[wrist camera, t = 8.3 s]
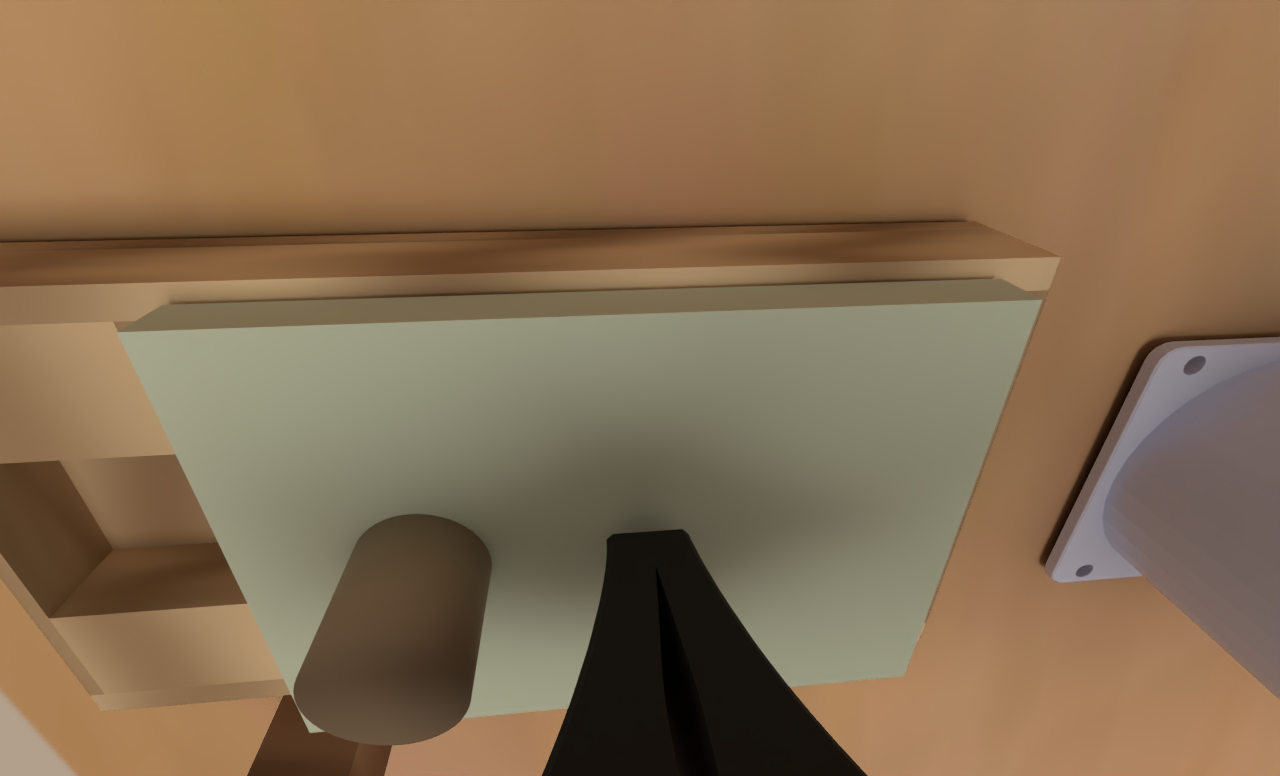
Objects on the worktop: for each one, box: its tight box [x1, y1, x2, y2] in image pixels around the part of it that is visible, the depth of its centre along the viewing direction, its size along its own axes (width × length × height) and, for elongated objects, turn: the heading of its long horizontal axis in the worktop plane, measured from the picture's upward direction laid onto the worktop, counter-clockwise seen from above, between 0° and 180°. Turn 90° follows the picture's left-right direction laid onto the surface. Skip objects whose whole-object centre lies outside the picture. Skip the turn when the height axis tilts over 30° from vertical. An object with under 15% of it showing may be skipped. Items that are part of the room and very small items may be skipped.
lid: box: [117, 279, 1042, 745], centre depth 10 cm, size 13×9×4 cm
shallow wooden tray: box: [0, 221, 1061, 712], centre depth 13 cm, size 20×10×2 cm, turn 90°
